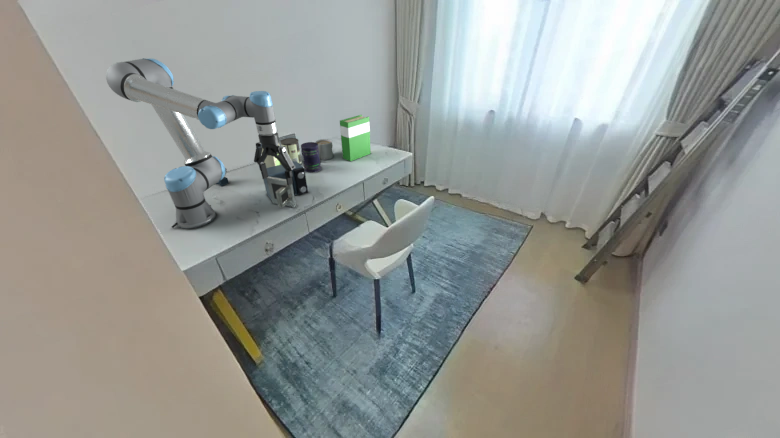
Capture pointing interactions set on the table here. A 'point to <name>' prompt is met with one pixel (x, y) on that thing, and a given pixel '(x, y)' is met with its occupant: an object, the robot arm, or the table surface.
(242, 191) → the table surface
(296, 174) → the microwave
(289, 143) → the coffee can
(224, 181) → the watch
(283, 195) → the microwave door
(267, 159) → the toy refrigerator
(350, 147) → the hardback book
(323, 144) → the coffee mug
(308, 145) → the storage jar
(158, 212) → the table surface
